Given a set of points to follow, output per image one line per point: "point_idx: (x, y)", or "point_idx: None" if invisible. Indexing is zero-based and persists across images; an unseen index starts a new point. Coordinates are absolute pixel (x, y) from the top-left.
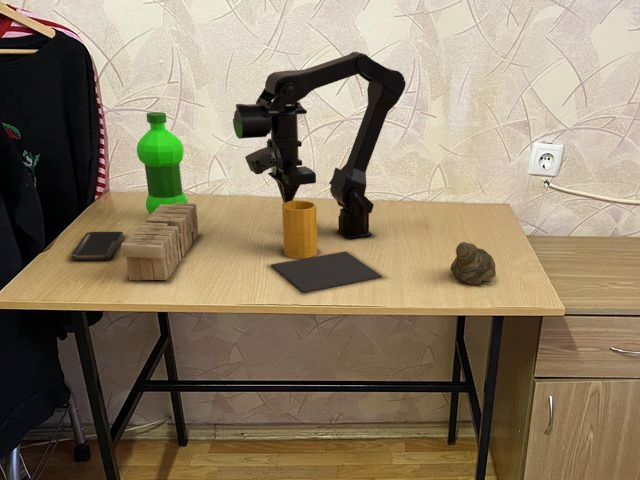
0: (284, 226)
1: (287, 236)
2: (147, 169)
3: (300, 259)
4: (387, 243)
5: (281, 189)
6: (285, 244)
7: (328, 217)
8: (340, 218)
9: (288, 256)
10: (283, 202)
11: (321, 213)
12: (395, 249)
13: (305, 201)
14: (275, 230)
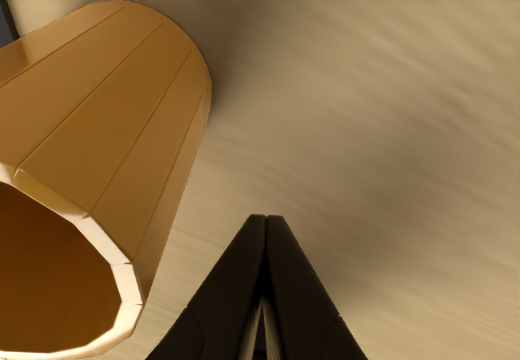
0: (27, 51)
1: (27, 34)
2: None
3: (8, 34)
4: (142, 335)
5: (279, 343)
6: (86, 13)
7: (452, 322)
8: (257, 340)
9: (90, 3)
10: (290, 229)
11: (505, 323)
12: None
13: (92, 341)
14: (485, 117)
